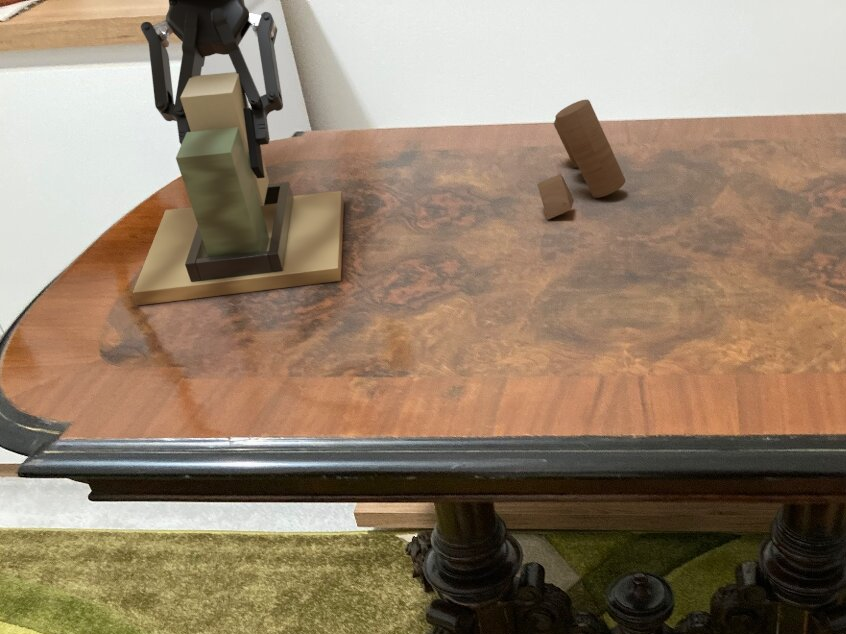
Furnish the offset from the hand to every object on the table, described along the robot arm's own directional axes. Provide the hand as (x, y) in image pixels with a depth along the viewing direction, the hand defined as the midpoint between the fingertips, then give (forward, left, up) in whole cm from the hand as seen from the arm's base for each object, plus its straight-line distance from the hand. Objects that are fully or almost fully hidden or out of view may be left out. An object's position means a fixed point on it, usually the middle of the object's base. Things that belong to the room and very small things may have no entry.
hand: (229, 175), depth 96 cm
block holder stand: (0, -1, -8) cm, 8 cm away
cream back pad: (-1, +4, -4) cm, 5 cm away
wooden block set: (+37, +12, -8) cm, 40 cm away
